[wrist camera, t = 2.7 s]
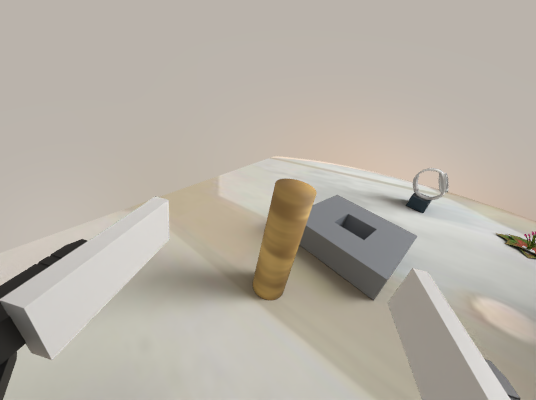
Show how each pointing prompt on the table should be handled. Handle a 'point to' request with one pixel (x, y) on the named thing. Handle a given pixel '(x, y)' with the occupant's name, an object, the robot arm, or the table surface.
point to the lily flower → (522, 243)
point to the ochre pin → (282, 236)
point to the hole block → (355, 243)
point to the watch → (422, 201)
